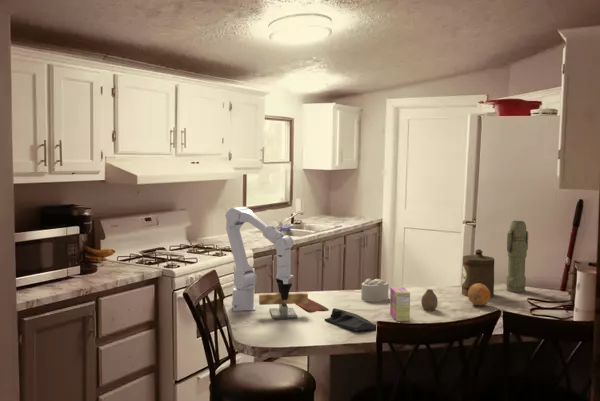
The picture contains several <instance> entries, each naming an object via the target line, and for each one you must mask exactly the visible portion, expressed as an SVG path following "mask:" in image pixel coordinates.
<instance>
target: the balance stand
mask: <svg viewBox="0 0 600 401" xmlns="http://www.w3.org/2000/svg"><path fill="white" fill-rule="evenodd" d="M278 305H279V307H274V308H273V307H272V308H270V307H269V313H270V315H271V318H272V320H273V321H287V320H289V321H290V320H298V319H299V317H298V315H297V312H296V310H295V309H294V308H293V307H288V304H278Z"/></svg>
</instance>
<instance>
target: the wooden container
mask: <svg viewBox="0 0 600 401" xmlns="http://www.w3.org/2000/svg"><path fill="white" fill-rule="evenodd" d="M461 273H462V275H461V294H462V295H463V296H466V297H468V290H469V288H470V287H471V286H472V285H473V284H477V283H480V284H483V285H485V286H486V287H487V288H488V289H489V291H490V298H493V297H494V296H495V293H494V292H495V257H492V256H487V255H484V254H483V250H481V249H476V250H475V254H468V255H464V256H463V257H462V272H461Z"/></svg>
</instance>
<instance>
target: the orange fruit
mask: <svg viewBox="0 0 600 401" xmlns="http://www.w3.org/2000/svg"><path fill="white" fill-rule="evenodd" d="M467 299H468V300H469V302H470V303H471V304H473V305H474V306H478V307H479V306H481V307H482V306H485V305H487V304H488V303H489V301H490V300H491V297H490V291H489V289H488V288H487V287H486V286H485V285H483V284H480V283H477V284H473V285H472V286H471V287H470V288H469V290H468V296H467Z"/></svg>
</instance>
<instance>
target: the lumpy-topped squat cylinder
mask: <svg viewBox="0 0 600 401" xmlns="http://www.w3.org/2000/svg"><path fill="white" fill-rule="evenodd" d="M389 284H390V283H389V282H387V281H386V280H384V279H379V278H375V279H371V278H366V279H365V280H364V281H363V282H362V283H361V293H360V294H361V300H362V301H364V300H365V302H381V301H386V300H389V290H390V289H389Z"/></svg>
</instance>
